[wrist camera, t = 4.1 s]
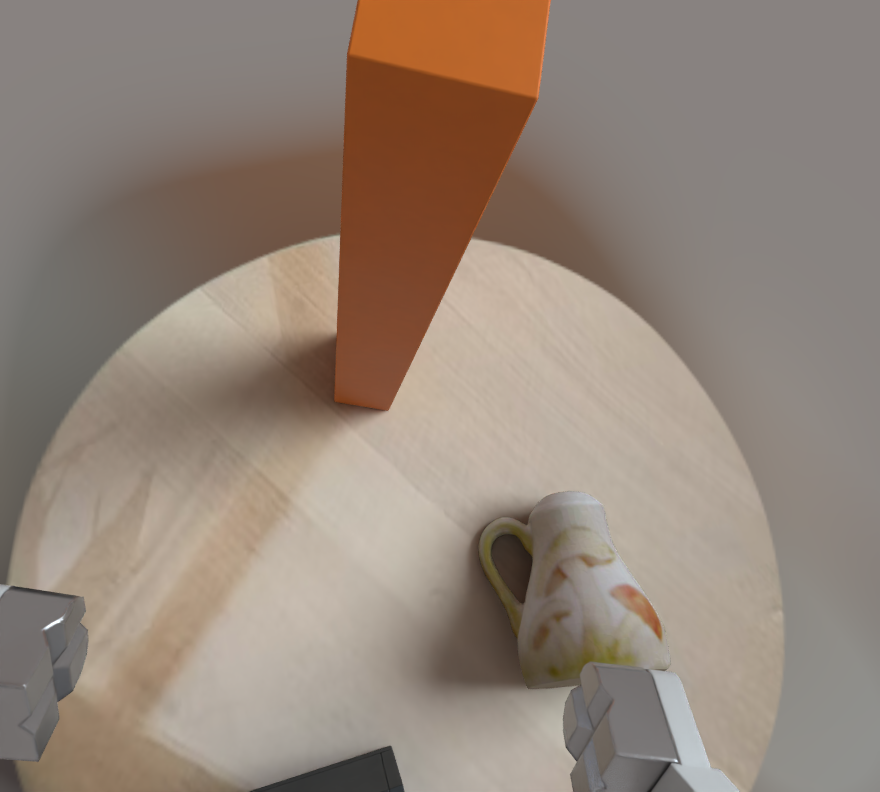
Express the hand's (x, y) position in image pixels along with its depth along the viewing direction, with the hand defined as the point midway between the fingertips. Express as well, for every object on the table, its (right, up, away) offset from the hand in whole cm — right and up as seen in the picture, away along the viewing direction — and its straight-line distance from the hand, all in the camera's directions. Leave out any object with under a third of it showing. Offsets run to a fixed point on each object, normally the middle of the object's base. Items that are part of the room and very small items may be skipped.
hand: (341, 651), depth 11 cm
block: (-2, +6, +27) cm, 27 cm away
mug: (+8, -6, +26) cm, 28 cm away
